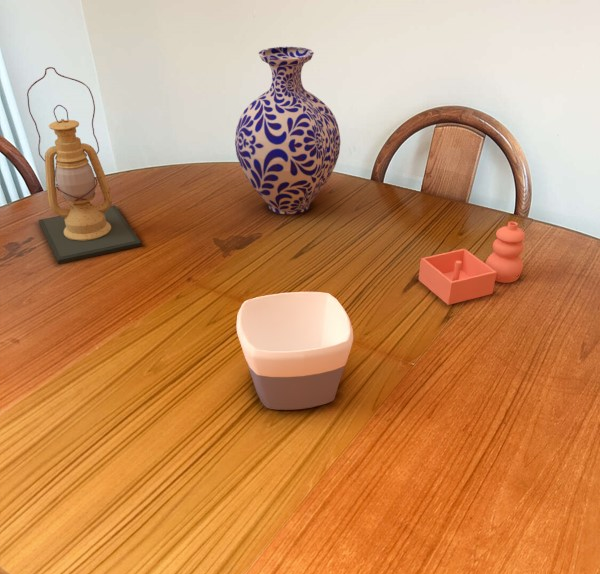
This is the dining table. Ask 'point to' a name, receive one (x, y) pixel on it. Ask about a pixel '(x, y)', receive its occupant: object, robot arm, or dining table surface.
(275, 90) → the vase
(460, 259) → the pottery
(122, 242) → the placemat
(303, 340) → the bowl
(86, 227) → the lantern
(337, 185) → the dining table surface
